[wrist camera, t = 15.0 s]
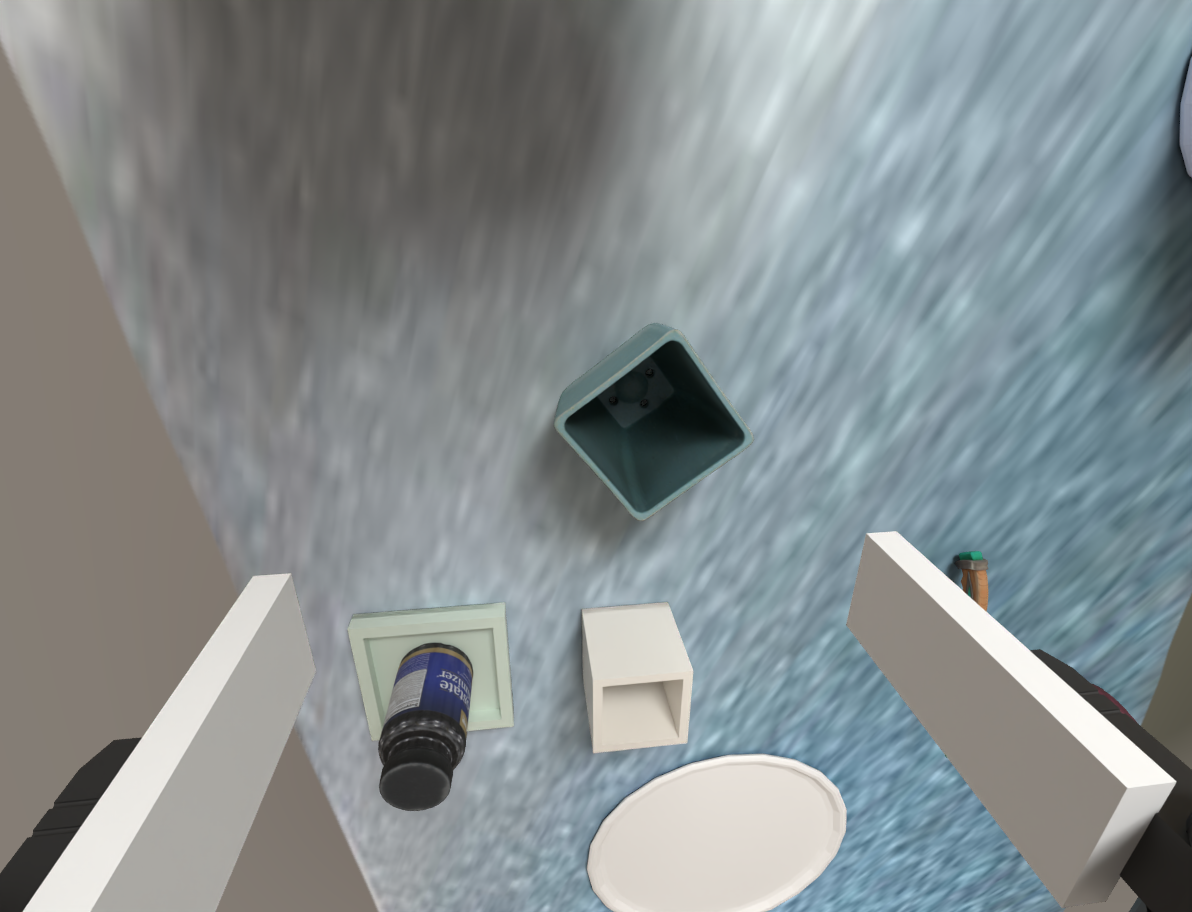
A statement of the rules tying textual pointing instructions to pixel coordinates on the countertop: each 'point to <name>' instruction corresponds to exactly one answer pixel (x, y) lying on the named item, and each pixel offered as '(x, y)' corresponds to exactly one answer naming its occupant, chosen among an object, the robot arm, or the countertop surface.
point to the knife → (974, 577)
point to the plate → (718, 837)
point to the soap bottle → (1187, 122)
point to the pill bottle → (425, 726)
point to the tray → (465, 627)
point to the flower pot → (651, 420)
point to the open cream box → (635, 677)
